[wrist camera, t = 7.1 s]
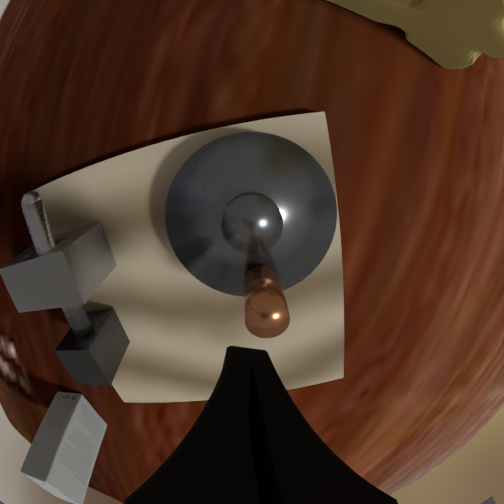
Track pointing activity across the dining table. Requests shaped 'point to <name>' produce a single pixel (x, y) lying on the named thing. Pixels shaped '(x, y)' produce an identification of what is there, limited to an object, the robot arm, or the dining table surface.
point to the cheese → (441, 26)
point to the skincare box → (66, 447)
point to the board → (185, 284)
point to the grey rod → (80, 317)
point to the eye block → (60, 270)
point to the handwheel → (252, 221)
